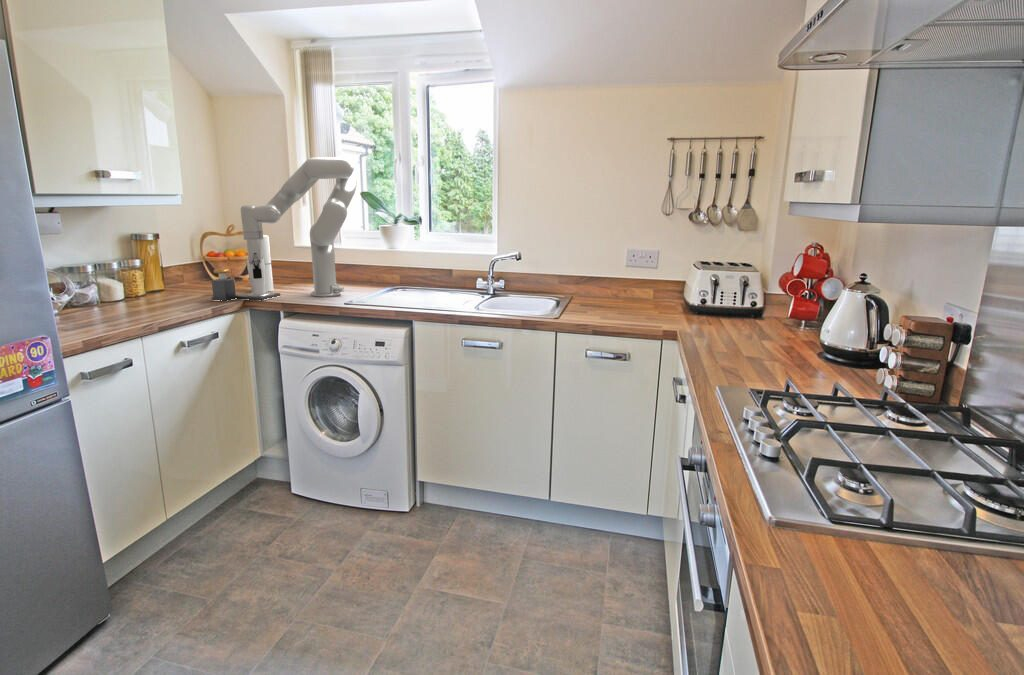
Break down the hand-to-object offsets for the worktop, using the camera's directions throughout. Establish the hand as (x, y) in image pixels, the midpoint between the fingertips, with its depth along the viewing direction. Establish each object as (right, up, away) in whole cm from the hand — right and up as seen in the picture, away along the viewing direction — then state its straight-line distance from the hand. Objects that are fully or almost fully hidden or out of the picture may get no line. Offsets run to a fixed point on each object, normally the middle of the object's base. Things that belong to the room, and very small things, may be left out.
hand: (257, 276), depth 242 cm
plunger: (-12, -6, -4) cm, 14 cm away
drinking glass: (0, -7, +1) cm, 8 cm away
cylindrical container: (-5, -5, +19) cm, 21 cm away
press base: (-5, -9, 0) cm, 10 cm away
